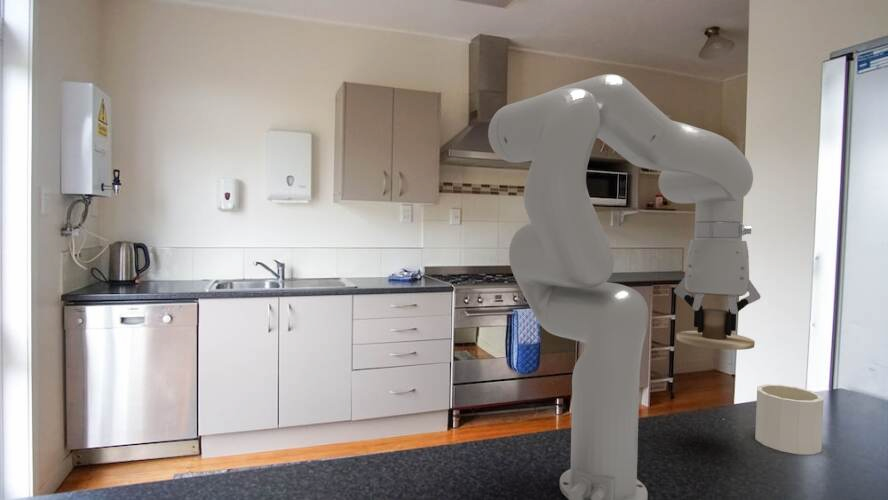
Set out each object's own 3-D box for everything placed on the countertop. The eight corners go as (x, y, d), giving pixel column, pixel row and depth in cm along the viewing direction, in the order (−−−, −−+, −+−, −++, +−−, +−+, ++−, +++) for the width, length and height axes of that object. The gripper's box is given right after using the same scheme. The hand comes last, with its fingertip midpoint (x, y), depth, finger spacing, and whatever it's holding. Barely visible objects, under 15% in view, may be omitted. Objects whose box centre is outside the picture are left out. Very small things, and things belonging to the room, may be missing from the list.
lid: (753, 353, 85) (755, 318, 85) (671, 343, 92) (672, 311, 92) (755, 340, 96) (756, 309, 95) (681, 332, 102) (682, 303, 102)
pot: (823, 459, 89) (825, 405, 89) (754, 445, 95) (756, 395, 95) (818, 439, 98) (820, 390, 98) (756, 428, 103) (757, 381, 103)
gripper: (772, 233, 92) (768, 335, 92) (671, 232, 101) (668, 325, 101) (772, 233, 85) (768, 342, 86) (664, 231, 94) (661, 331, 95)
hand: (714, 332), depth 94 cm, fingers closed on lid, 4 cm apart
